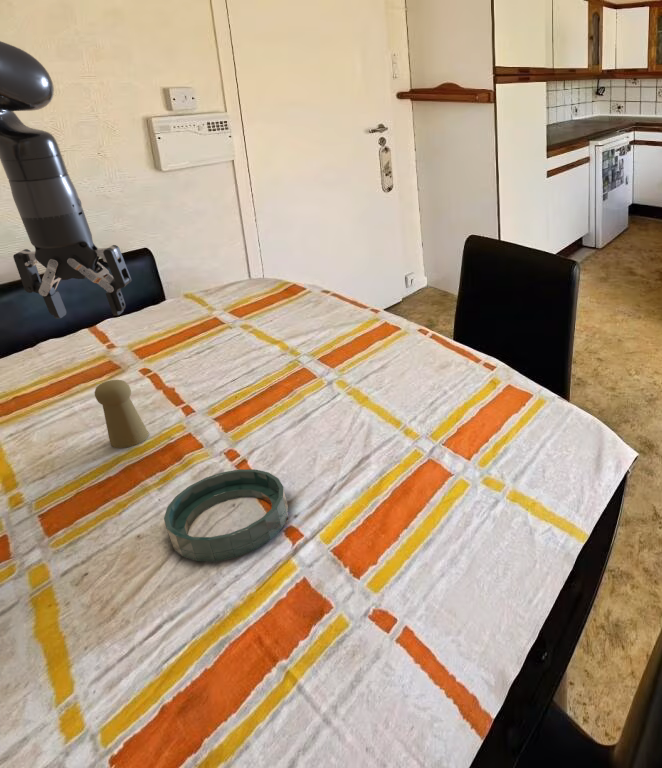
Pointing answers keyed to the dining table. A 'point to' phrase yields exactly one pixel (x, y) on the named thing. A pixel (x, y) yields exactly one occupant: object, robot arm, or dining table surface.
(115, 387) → the cork
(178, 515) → the green faceted band
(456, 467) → the dining table surface
